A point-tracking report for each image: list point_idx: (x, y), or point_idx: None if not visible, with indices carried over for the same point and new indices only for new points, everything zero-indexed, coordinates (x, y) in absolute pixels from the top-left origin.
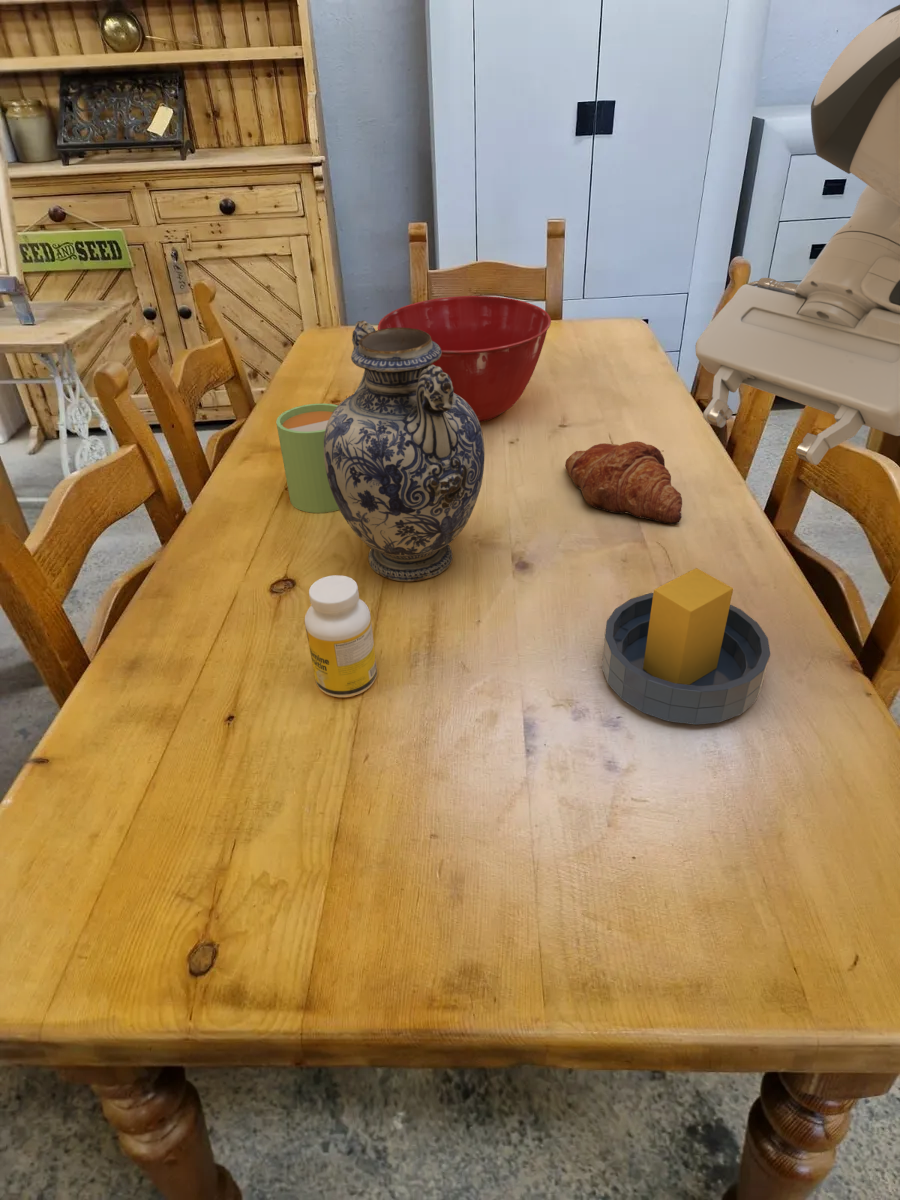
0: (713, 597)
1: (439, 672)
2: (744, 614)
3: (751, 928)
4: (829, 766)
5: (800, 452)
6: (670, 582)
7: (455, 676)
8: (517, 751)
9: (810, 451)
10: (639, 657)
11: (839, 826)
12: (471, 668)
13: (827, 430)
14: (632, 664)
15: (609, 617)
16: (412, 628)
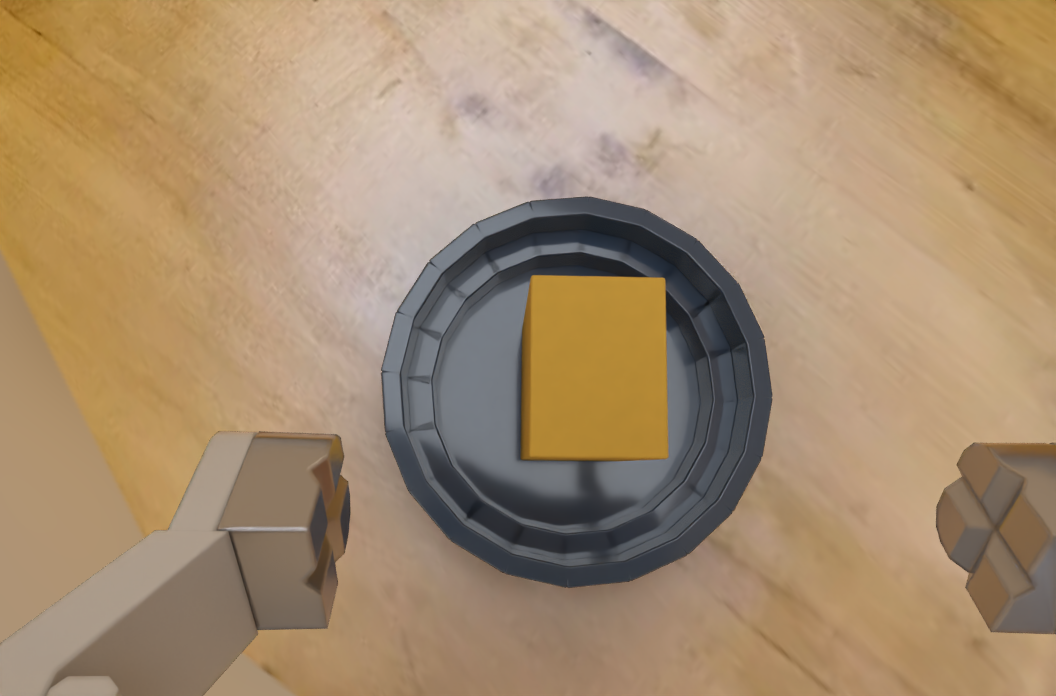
0: (535, 373)
1: (871, 25)
2: (548, 576)
3: (117, 38)
4: (209, 415)
5: (303, 433)
6: (660, 337)
7: (842, 41)
8: (606, 6)
9: (234, 443)
10: None
11: (123, 304)
12: (844, 79)
13: (152, 578)
14: None
15: (746, 300)
16: (1028, 63)
